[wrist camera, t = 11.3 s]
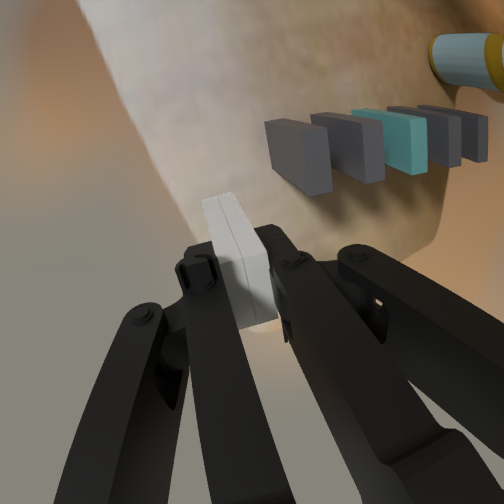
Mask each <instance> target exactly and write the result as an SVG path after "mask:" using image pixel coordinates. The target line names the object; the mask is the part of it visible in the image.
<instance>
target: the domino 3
mask: <svg viewBox="0 0 504 504" xmlns="http://www.w3.org/2000/svg"><path fill="white" fill-rule="evenodd" d="M351 111H352V116H358V117H364V118H369V119H375V120H380V121H382V123H383V136H384V152H385V164H386V165H388V166H391V167H393V168H396V169H398V170H401V171H403V172H405V173H408V174H410V175H416V174H421V173H426V172H428V151H427V121H426V118H423V117H418V116H413V115H407V114H401V113H395V112H388V111H382V110H374V109H367V108H366V109H355V110H351Z"/></svg>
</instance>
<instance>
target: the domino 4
mask: <svg viewBox="0 0 504 504" xmlns="http://www.w3.org/2000/svg"><path fill="white" fill-rule="evenodd" d="M387 109H388V112H395V113H401V114H407V115H413V116H418V117H423V118H426V121H427V151H428V160H429V161H432V162H434V163H437V164H440V165H442V166H445V167H448V168H451V167H457V166H461V116H456V115H451V114H446V113H441V112H435V111H429V110H423V109H417V108H410V107H403V106H391V107H387Z"/></svg>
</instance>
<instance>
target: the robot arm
mask: <svg viewBox="0 0 504 504" xmlns="http://www.w3.org/2000/svg"><path fill="white" fill-rule="evenodd" d="M201 201H202V205H203V209H204V213H205V217H206V221H207V225H208V229H209V233H210V237H211V240H212V241H208V242H205V243H201V244H197V245H194V246H190V247H188V248H187V250H186V251H185V253H184V258H183V259H182V260H180V261H179V262H178V263H177V264H176V267H175V272H176V274H177V277H178V280H179V283H180V286H181V288H182V291H183V297H182V298H181V299H180V300H178V301H177V302H176V303H174V304H172V305H171V306H169V307H167V308H164V309H162V308H161V306H160V305H159V304H157V303H151V302H148V303H143V304H140V305H138V306H135V307H134V308H132V309H131V310H130V311H129V312H128V313H127V314H126V315H125V317H124V318H123V321H122V323H121V325H120V327H119V329H118V331H117V333H116V336H115V338H114V340H113V343H112V345H111V347H110V349H109V352H108V354H107V356H106V358H105V360H104V363H103V365H102V367H101V370H100V372H99V375H98V377H97V379H96V382H95V384H94V387H93V389H92V392H91V394H90V397H89V399H88V402H87V404H86V407H85V410H84V412H83V415H82V418H81V420H80V423H79V426H78V428H77V431H76V434H75V437H74V440H73V443H72V446H71V448H70V451H69V454H68V457H67V460H66V463H65V466H64V470H63V473H62V476H61V479H60V482H59V486H58V489H57V493H56V496H55V500H54V503H53V504H168V497H169V490H170V483H171V476H172V470H173V464H174V457H175V451H176V445H177V439H178V433H179V427H180V421H181V415H182V409H183V404H184V399H185V393H186V388H187V382H188V376H189V366H190V372H191V380H192V388H193V395H194V403H195V410H196V417H197V423H198V430H199V437H200V443H201V448H202V454H203V460H204V465H205V471H206V477H207V481H208V487H209V492H210V497H211V502H212V504H296V502H295V499H294V497H293V494H292V491H291V489H290V486H289V483H288V480H287V478H286V474H285V472H284V469H283V466H282V463H281V460H280V457H279V455H278V452H277V449H276V446H275V443H274V440H273V437H272V434H271V431H270V428H269V425H268V422H267V419H266V416H265V413H264V410H263V407H262V404H261V401H260V398H259V395H258V391H257V389H256V385H255V382H254V379H253V376H252V373H251V370H250V367H249V363H248V360H247V357H246V353H245V350H244V347H243V344H242V341H241V337H240V334H239V331H238V330H239V329H243V328H247V327H250V326H254V325H257V324H261V323H264V322H267V321H271V320H274V319H277V318H278V313H277V310H278V312H279V314H280V316H281V322H282V328H283V334H284V340H285V343H286V342H288V340H289V343H290V344H291V347H292V349H293V351H294V354H295V356H296V358H297V360H298V362H299V364H300V367H301V368H302V371H303V373H304V375H305V377H306V379H307V381H308V384H309V386H310V388H311V390H312V392H313V394H314V397H315V399H316V401H317V403H318V405H319V407H320V410H321V412H322V413H323V416H324V418H325V420H326V422H327V425H328V427H329V429H330V431H331V433H332V435H333V437H334V440H335V442H336V444H337V446H338V448H339V450H340V452H341V454H342V457H343V459H344V461H345V463H346V465H347V467H348V469H349V471H350V474H351V476H352V478H353V480H354V482H355V484H356V486H357V489H358V491H359V493H360V495H361V499H362V503H363V504H504V490H503V489H501V487H500V485H499V484H498V482H497V481H496V479H495V478H494V476H493V475H492V473H491V472H490V470H489V469H488V467H487V466H486V464H485V462H484V461H483V459H482V458H481V457H480V455H479V454H478V452H477V451H476V449H475V448H474V446H473V445H472V443H471V442H470V441H469V440H468V438H467V437H466V436H465V435H464V434H463V433H462V432H460V431H458V430H457V429H448V428H443V427H442V426H440V425H439V424H438V422H437V421H436V420H435V418H434V417H433V415H432V414H431V413H430V411H429V410H428V408H427V407H426V406H425V404H424V403H423V401H422V400H421V398H420V397H419V396H418V394H417V393H416V392H415V390H414V389H413V387H412V386H411V385H410V383H409V382H408V380H409V381H410V382H411V383H412V384H413V385H415V386H416V387H417V388H418V389H419V390H421V391H422V392H423V393H424V394H425V395H426V396H428V397H429V398H430V399H431V400H432V401H434V402H435V403H436V404H437V405H438V406H440V407H441V408H442V409H443V410H444V411H446V412H447V413H448V414H449V415H450V416H451V417H453V418H454V419H455V420H456V421H457V422H459V423H460V424H461V425H462V426H463V427H464V428H466V429H467V430H468V431H469V432H470V433H472V434H473V435H474V436H475V437H476V438H478V439H479V440H480V441H481V442H482V443H484V444H485V445H486V446H487V447H488V448H489V449H491V450H492V451H493V452H494V453H496V454H497V455H498V456H500V457H501V458H502V459H504V323H502V322H501V321H499V320H497V319H496V318H494V317H493V316H491V315H490V314H488V313H486V312H485V311H483V310H482V309H480V308H478V307H477V306H475V305H473V304H472V303H470V302H468V301H467V300H465V299H463V298H462V297H460V296H458V295H457V294H455V293H453V292H452V291H450V290H448V289H446V288H445V287H443V286H441V285H439V284H438V283H436V282H434V281H433V280H431V279H429V278H427V277H426V276H424V275H422V274H420V273H418V272H417V271H415V270H413V269H411V268H410V267H408V266H406V265H404V264H402V263H400V262H399V261H397V260H395V259H393V258H391V257H389V256H388V255H386V254H384V253H382V252H380V251H378V250H376V249H374V248H373V247H370V246H367V245H361V244H355V245H354V244H353V245H349V246H346V247H344V248H342V249H341V250H339V252H338V254H337V258H338V260H333V261H315V259H314V258H313V257H312V256H311V255H310V254H309V253H307V252H304V251H298V250H297V248H296V247H295V246H294V245H293V243H292V242H291V241H290V239H289V238H288V237H287V236H286V234H284V232H283V231H282V229H281V228H280V227H278V226H275V225H273V224H269V225H265V226H262V227H258V228H254V229H253V227H252V225H251V224H250V222H249V220H248V219H247V217H246V215H245V214H244V212H243V210H242V209H241V207H240V205H239V204H238V202H237V200H236V199H235V197H234V195H233V193H232V192H228V193H224V194H220V195H217V196H213V197H209V198H205V199H201ZM376 299H378V300H379V301H380V302H382V303H383V304H382V306H381V305H379V304H377V303H376Z"/></svg>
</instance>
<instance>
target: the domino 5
mask: <svg viewBox="0 0 504 504" xmlns="http://www.w3.org/2000/svg"><path fill="white" fill-rule="evenodd" d="M418 109H423V110H429V111H435V112H441V113H446V114H451V115H456V116H461V157H463V158H466V159H469V160H471V161H474V162H477V163H480V162H486V161H487V158H488V117H487V116H483V115H479V114H474V113H469V112H465V111H460V110H454V109H449V108H443V107H437V106H431V105H418Z"/></svg>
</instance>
